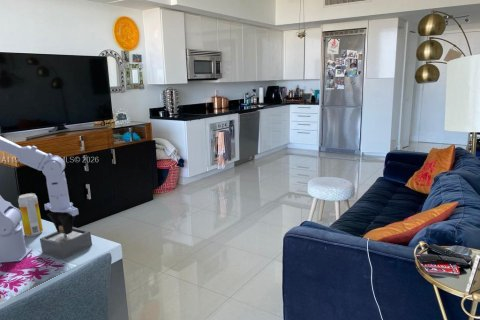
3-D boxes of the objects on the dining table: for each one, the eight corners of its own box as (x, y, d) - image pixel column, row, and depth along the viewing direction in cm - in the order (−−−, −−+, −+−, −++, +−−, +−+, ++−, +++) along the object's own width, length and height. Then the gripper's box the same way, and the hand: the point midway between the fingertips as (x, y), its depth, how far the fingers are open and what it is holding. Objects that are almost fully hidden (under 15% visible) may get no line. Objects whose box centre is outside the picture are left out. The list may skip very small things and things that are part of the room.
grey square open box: (42, 252, 122) (39, 238, 121) (71, 238, 131) (69, 226, 130) (63, 259, 117) (61, 244, 115) (92, 244, 126) (90, 231, 125)
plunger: (47, 240, 121) (44, 227, 120) (68, 231, 128) (66, 218, 127) (63, 245, 118) (60, 231, 116) (84, 235, 124) (81, 222, 123)
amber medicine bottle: (39, 228, 141) (32, 191, 138) (46, 232, 138) (39, 194, 134) (22, 234, 137) (14, 196, 133) (28, 238, 133) (21, 199, 130)
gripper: (83, 192, 119) (89, 231, 122) (55, 187, 126) (61, 224, 129) (64, 199, 113) (71, 240, 116) (36, 193, 120) (42, 232, 123)
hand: (65, 232), depth 122 cm, fingers closed on plunger, 3 cm apart
